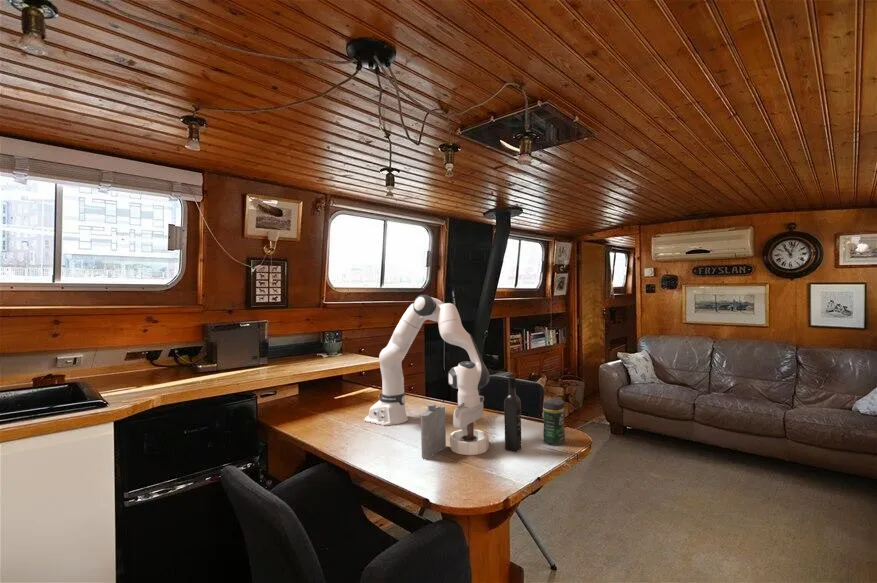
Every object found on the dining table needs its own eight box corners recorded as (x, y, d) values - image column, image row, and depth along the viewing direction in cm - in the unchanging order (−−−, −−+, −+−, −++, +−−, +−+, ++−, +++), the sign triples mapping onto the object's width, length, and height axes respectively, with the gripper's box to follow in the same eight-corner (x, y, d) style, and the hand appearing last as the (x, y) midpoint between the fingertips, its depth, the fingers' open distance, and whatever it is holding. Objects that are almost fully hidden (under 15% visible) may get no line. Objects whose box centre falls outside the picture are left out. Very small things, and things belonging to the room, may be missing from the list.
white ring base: (444, 451, 174) (444, 439, 174) (457, 438, 189) (457, 427, 189) (482, 457, 168) (481, 444, 168) (492, 442, 183) (492, 431, 182)
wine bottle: (522, 448, 176) (521, 377, 175) (516, 452, 171) (515, 379, 171) (510, 445, 179) (508, 375, 179) (504, 450, 174) (502, 378, 174)
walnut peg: (470, 443, 175) (470, 424, 175) (462, 442, 178) (462, 423, 178) (475, 440, 179) (474, 422, 179) (467, 439, 181) (466, 420, 181)
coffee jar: (557, 447, 176) (556, 403, 176) (540, 442, 182) (539, 400, 181) (568, 440, 183) (567, 398, 183) (551, 436, 189) (550, 395, 188)
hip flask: (426, 460, 166) (425, 409, 166) (418, 458, 168) (417, 408, 168) (447, 446, 180) (446, 400, 179) (439, 445, 182) (438, 399, 181)
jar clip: (458, 447, 176) (458, 439, 176) (463, 440, 183) (463, 434, 183) (474, 449, 173) (474, 441, 173) (479, 443, 180) (479, 436, 180)
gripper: (462, 407, 168) (463, 442, 168) (485, 396, 185) (486, 427, 185) (448, 405, 171) (449, 439, 171) (473, 394, 188) (473, 424, 188)
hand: (468, 433), depth 178 cm, fingers closed on walnut peg, 4 cm apart
